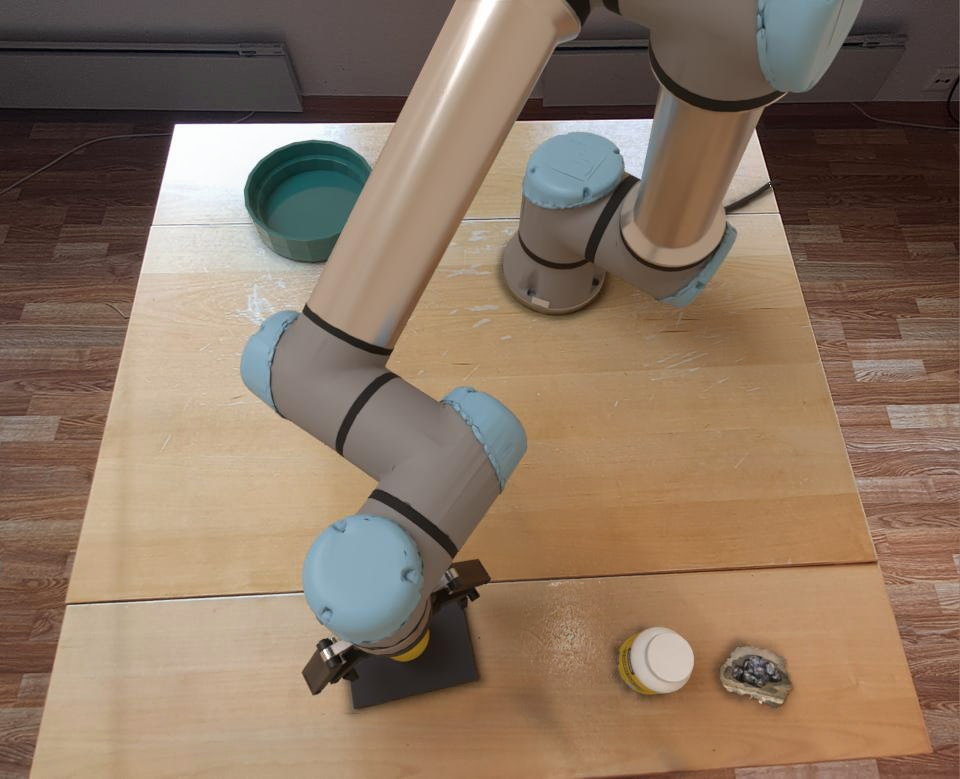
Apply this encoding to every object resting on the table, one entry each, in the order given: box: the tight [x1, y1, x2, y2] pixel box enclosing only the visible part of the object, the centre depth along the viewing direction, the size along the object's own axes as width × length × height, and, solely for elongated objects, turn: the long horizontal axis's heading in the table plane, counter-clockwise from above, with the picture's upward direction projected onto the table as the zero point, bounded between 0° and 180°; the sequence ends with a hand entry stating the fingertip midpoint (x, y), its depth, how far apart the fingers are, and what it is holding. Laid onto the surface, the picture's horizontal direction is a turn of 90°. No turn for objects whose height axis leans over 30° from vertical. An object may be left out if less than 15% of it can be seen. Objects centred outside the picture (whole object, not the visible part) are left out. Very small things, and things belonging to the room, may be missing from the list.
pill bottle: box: [616, 626, 695, 696], centre depth 74 cm, size 6×6×12 cm
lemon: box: [390, 629, 429, 661], centre depth 75 cm, size 6×6×8 cm
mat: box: [349, 601, 478, 710], centre depth 79 cm, size 14×12×1 cm
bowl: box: [243, 139, 373, 263], centre depth 104 cm, size 19×19×6 cm
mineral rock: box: [718, 645, 794, 709], centre depth 78 cm, size 7×8×2 cm
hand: (405, 632), depth 75 cm, fingers open, 13 cm apart
